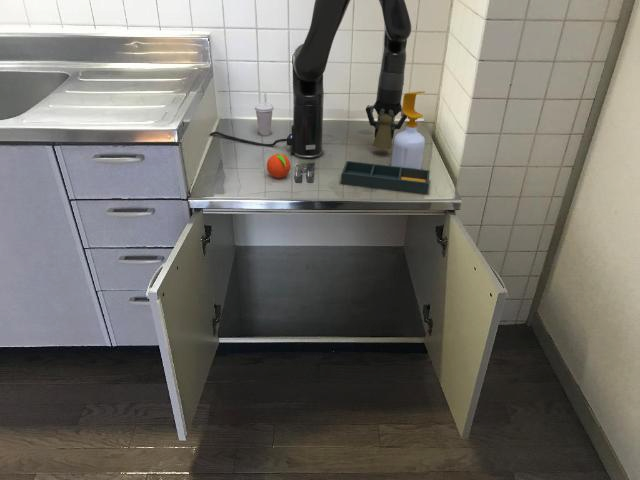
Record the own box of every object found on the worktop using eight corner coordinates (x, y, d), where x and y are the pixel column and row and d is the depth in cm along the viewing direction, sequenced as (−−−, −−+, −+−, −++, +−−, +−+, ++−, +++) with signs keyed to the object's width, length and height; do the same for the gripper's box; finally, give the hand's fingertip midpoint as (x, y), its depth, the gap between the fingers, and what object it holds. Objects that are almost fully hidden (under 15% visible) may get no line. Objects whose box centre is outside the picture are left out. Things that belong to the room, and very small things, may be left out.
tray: (341, 183, 145) (341, 173, 143) (345, 170, 152) (346, 160, 150) (427, 194, 141) (428, 183, 139) (427, 180, 148) (429, 170, 146)
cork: (391, 150, 159) (395, 116, 152) (372, 147, 160) (376, 114, 153) (392, 143, 164) (397, 110, 157) (374, 140, 164) (378, 108, 158)
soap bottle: (402, 179, 149) (413, 97, 135) (385, 167, 155) (393, 87, 141) (426, 173, 152) (439, 93, 138) (408, 161, 159) (419, 84, 145)
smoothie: (273, 137, 172) (272, 96, 164) (254, 136, 172) (252, 96, 164) (274, 130, 177) (274, 90, 170) (256, 129, 177) (255, 90, 169)
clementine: (296, 180, 146) (296, 157, 142) (275, 185, 143) (275, 162, 139) (283, 169, 152) (283, 147, 148) (262, 174, 148) (262, 152, 144)
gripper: (365, 86, 149) (360, 140, 158) (413, 91, 147) (404, 146, 156) (368, 79, 155) (363, 132, 164) (414, 84, 153) (406, 137, 162)
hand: (383, 139), depth 160 cm, fingers closed on cork, 3 cm apart
